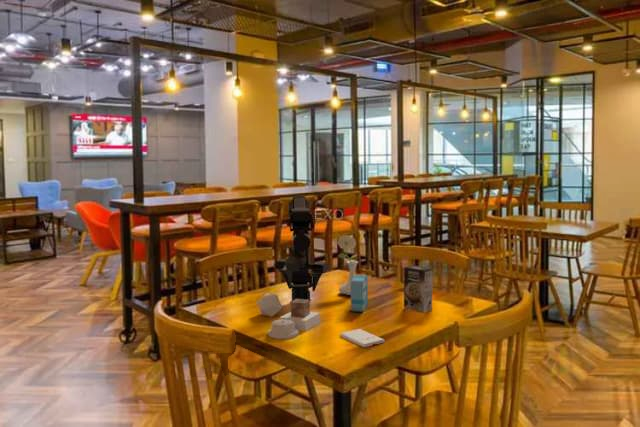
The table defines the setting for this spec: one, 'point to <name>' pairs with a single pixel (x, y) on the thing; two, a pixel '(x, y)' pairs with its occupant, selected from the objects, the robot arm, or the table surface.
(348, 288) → the flower in vase
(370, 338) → the external hard drive
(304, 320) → the grey block
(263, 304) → the die
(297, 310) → the grey cube
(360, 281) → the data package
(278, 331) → the mechanical component
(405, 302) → the coffee box
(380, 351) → the table surface
